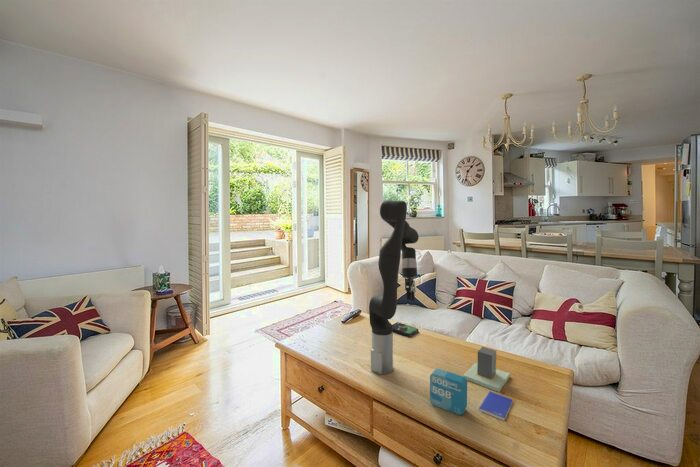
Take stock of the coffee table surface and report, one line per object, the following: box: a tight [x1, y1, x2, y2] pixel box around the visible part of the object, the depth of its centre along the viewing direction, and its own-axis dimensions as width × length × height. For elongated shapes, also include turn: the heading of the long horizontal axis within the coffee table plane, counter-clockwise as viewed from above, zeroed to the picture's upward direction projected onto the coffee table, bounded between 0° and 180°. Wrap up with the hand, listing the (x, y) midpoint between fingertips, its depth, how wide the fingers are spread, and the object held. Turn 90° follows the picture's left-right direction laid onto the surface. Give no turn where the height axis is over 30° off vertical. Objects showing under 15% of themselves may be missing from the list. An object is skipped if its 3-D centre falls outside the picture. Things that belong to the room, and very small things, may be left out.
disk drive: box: [392, 321, 419, 338], centre depth 174 cm, size 10×3×15 cm
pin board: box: [462, 361, 511, 393], centre depth 125 cm, size 14×14×4 cm
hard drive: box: [478, 391, 513, 421], centre depth 107 cm, size 2×8×12 cm
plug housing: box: [477, 346, 497, 379], centre depth 125 cm, size 6×6×10 cm
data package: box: [429, 368, 468, 416], centre depth 107 cm, size 12×4×12 cm, turn 54°
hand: (410, 300), depth 149 cm, fingers open, 8 cm apart
